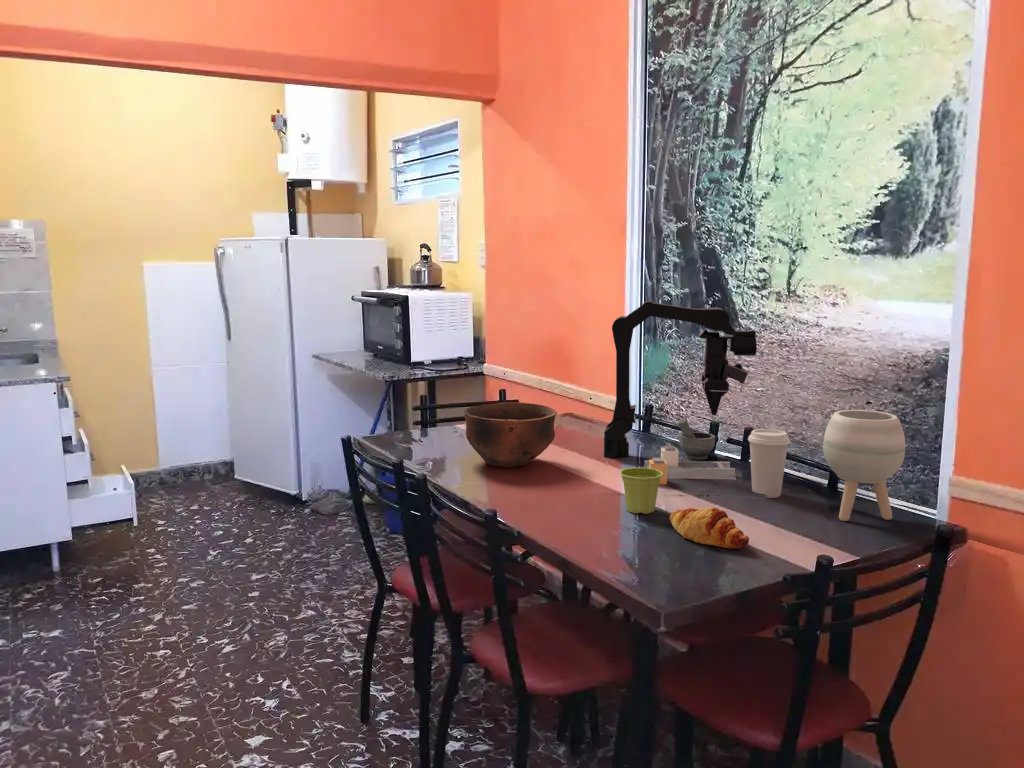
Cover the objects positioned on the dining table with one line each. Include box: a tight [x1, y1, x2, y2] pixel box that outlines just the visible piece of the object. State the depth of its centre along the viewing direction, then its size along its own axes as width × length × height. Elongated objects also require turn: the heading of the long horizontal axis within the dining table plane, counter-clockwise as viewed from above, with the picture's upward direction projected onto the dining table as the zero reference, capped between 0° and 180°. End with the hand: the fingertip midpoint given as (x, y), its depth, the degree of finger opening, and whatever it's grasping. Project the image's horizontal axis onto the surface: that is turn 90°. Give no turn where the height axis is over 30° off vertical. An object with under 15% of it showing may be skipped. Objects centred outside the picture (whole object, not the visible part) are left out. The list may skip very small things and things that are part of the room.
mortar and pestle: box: [677, 418, 716, 460], centre depth 226 cm, size 11×9×12 cm
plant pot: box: [619, 467, 663, 515], centre depth 180 cm, size 9×9×9 cm
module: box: [648, 457, 668, 485], centre depth 200 cm, size 4×4×7 cm
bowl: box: [462, 401, 558, 468], centre depth 221 cm, size 25×25×15 cm
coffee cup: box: [747, 428, 791, 499], centre depth 192 cm, size 10×10×15 cm
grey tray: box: [643, 459, 737, 480], centre depth 210 cm, size 22×12×3 cm, turn 86°
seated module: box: [660, 445, 680, 467], centre depth 210 cm, size 4×4×7 cm
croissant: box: [669, 506, 750, 550], centre depth 162 cm, size 21×10×8 cm, turn 32°
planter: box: [822, 409, 906, 522], centre depth 175 cm, size 16×16×22 cm
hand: (713, 411), depth 222 cm, fingers open, 9 cm apart
